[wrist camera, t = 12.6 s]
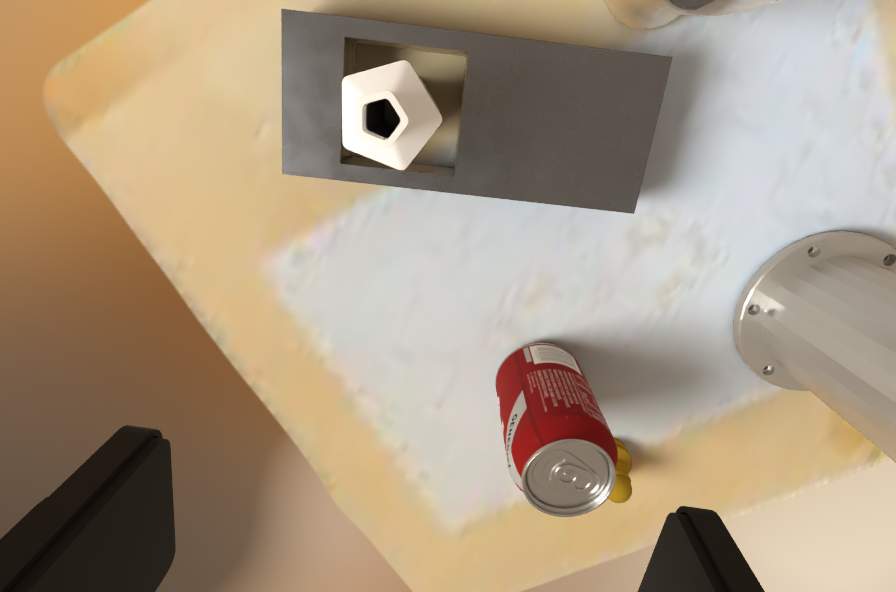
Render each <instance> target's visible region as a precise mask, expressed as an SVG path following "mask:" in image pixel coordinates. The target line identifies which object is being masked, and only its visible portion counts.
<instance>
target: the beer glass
mask: <svg viewBox="0 0 896 592" xmlns="http://www.w3.org/2000/svg"><path fill="white" fill-rule="evenodd" d="M775 1H778V0H605V2H606V4H607V6H608V8H609V10H610V11H611V13H612V14H613V15H614V16H615V17H616V18H617V19H618V20H619V21H621V22H622V23H624V24H626V25H628V26H630V27H633V28H637V29H653V28H658V27H661V26H663V25H666V24H668V23H670V22H672V21H673V20H675V19H676V18H678V17H679V16H680V15H681V14H685V15H693V16H724V15H730V14H735V13H739V12H744V11H748V10H752V9H755V8H758V7H761V6H764V5H767V4H770V3H773V2H775Z"/></svg>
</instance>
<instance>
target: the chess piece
mask: <svg viewBox="0 0 896 592" xmlns="http://www.w3.org/2000/svg"><path fill="white" fill-rule="evenodd" d="M614 440H615V443H616V446H617V451H618V460H617V466H616V469H615V470H616V482H615V486H614V489H613V491H612V493H611V494H610V496H609V497H608V499H609V500H611V501H613V502H615V503H623V502H625V501H627V500H628V499H629V498H630V496H631V494H632V487H631V480H630V477H629V476H628V474H629V472H630V470H631V467H632V461H631V457H630V455H629V454H628V452H627V450H626V448H625V446H624V444H623V443H622V442H621V441H619V440H617V439H615V438H614Z"/></svg>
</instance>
